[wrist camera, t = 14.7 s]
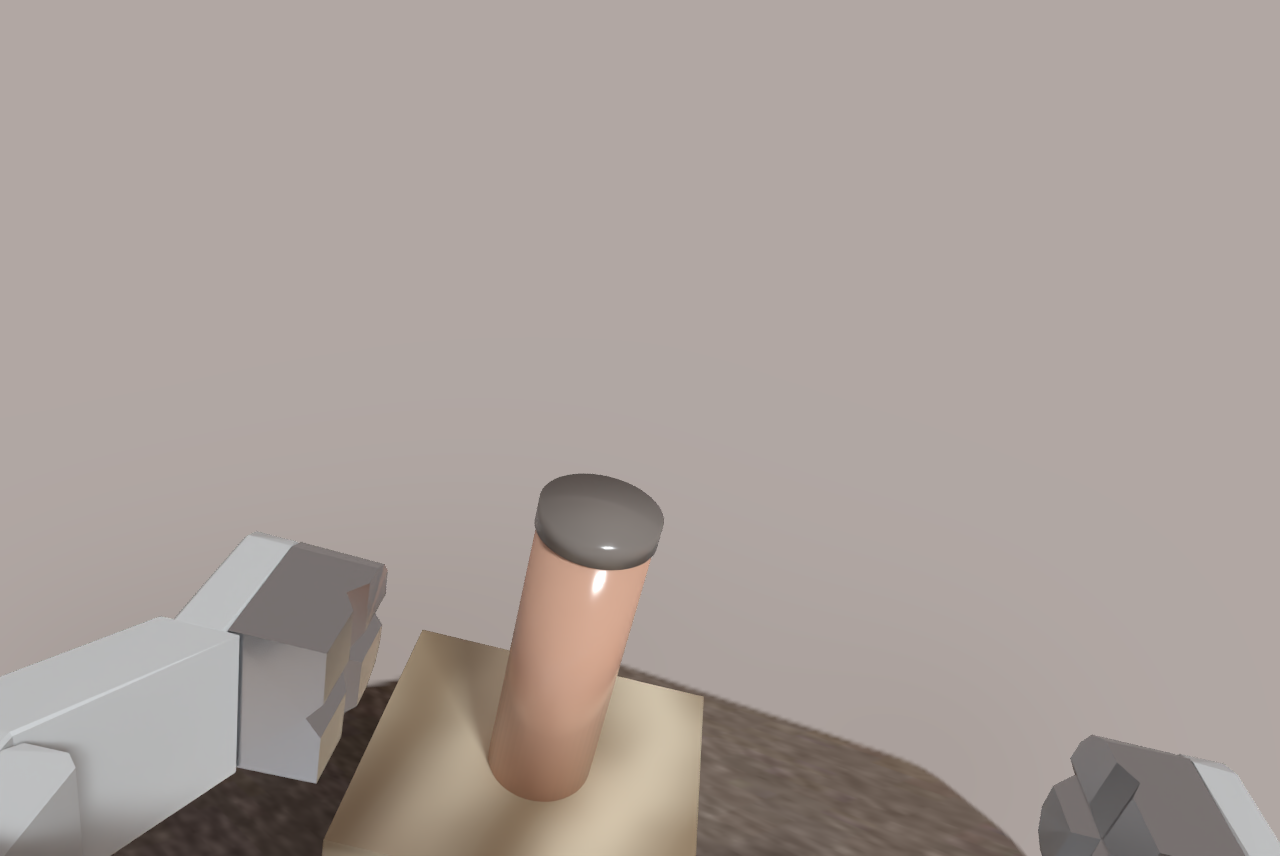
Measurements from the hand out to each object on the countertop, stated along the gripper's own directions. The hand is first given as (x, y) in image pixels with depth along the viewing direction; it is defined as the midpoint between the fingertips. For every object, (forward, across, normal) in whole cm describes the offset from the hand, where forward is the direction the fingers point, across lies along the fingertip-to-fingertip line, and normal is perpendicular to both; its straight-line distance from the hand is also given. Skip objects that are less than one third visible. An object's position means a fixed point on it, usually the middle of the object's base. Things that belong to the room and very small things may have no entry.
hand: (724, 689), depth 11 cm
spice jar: (+20, -2, -24) cm, 31 cm away
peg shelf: (+20, -2, -34) cm, 40 cm away
